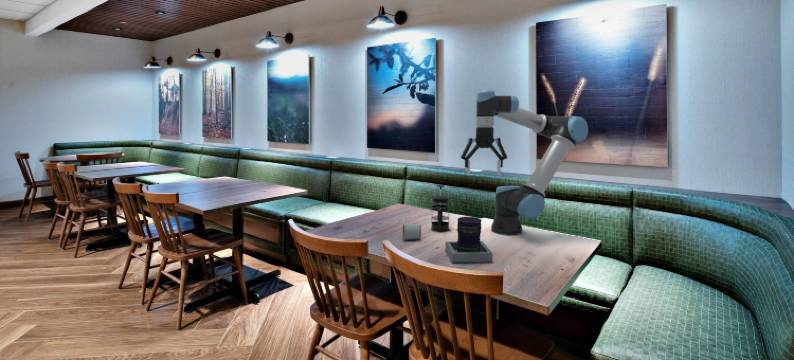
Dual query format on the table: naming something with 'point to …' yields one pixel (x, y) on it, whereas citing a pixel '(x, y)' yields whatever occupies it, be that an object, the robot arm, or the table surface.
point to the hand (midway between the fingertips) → (483, 175)
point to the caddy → (468, 254)
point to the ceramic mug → (411, 231)
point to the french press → (440, 213)
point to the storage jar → (469, 234)
